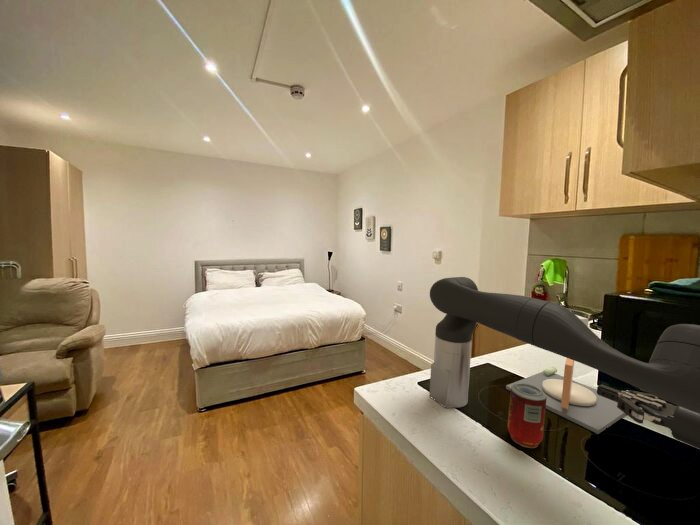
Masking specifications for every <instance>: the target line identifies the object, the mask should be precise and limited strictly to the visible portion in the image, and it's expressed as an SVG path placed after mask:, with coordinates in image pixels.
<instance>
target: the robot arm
mask: <svg viewBox="0 0 700 525" xmlns="http://www.w3.org/2000/svg"><path fill="white" fill-rule="evenodd" d="M429 297H430V298H429V299H430V301H431V303H432V304H433V306H434V307H435V309H437V310H438V311H440V312H441V313H444V314H445V316H444V317H443V318H442V320H440V321H439V322H438V323H437V324H436V326H435V335H434V354H433V363H431V364H430V377H429V378H430V379H429V393H428V394H429V396H430V397H429V398H431V397H432V398H433V399H432V398H431V399H432V400H434V399H435V400H436V401H435V400H434V401H435V402H437V401H438V402H439V403H438V402H437V403H438V404H440V405H441V404H442V405H441V406H443V407H444V406H445V407H448V408H462V407H463V408H464V407H465V406H466V405H468V401H469V386H470V373H471V357H472V356H471V354H472V342H473V335H474V334H473V333H474V331H475V330H476V327H477V324H479V325H483V326H485V327H487V328H489V329H492V330H494V331H497V332H500V333H501V334H504V335H507V336H509V337H511V338H514V339H516V340H518V341H521V342H523V343H526V344H529V345H531V346H534V347H536V348H538V349H541V350H544V351H547V352H550V353H553V354H556V355H559V356H560V357H561V356H562V357H563V358H566V359H567V358H569V359H571V360H574V362H578V363H580V364H582V365H584V366H587V367H590V368H592V369H595V370H598V371H599V372H602V373H604V374H606V375H609V376H610V377H612V378H615V379H617V380H619V381H622V382H625V383H626V384H628V385H631V386H633V387H635V388H637V389H640V390H641V391H644V392H640V391H638V390H637V391H636V390H629V389H628V390H627V391H625V390H618V389H615V388H613V387H611V386H607V385H605V384H600V385H597V387H596V389H597V394H598V395H600V396H602V397H605V398H607V399H610V400H613V401H615V402H617V404H618V405H617V408H619V409H620V410H621V411H623V412H624V413H625V414H627V415H626V416H627V417H629V418H630V419H632V420H633V421H635V422H636V423H638V424H640V425H641V424H642V425H643V424H644V421H648V422H649V423H652V424H654V425H656V426H661V427H663V428H668V429H669V430H670V432H671V436H672V437H673V438H674V439H675V440H676V441H679V442H681V443H684V444H685V445H689V446H691V447H693V448H695V449H698V450H700V325H698V324H693V323H690V324H689V323H677V324H674V325H671V326H668V327H667V328H666V329H664V331H663V332H662V334H661V335H660V336H659V338H658V340H657V342H656V344H655V347H654V349H653V350H652V353H651V357H650V358H649V361H648V362H644V361H641V360H638V359H636V358H634V357H631V356H629V355H627V354H624V353H622V352H620V351H619V350H617V349H615V348H614V347H612V346H610V344H608V343H606V342H605V340H602V339H601V338H600V337H599V336H598V335H597V334H596V333H594V332H593V330H591V328H590V327H589V326H588V327H587V326H586V325H585V324H584V323H583V322H582V321H581V320H580V319H579V318H578V317H577V316H576V315H577V314H575V313H574V312H572V311H571V310H570V309H569V308H567V307H566V306H564V305H561V304H558V303H556V302H555V303H554V302H551V301H547V300H543V299H540V298H535V297H531V296H526V295H521V294H519V295H518V294H512V293H510V294H508V293H497V292H489V291H488V292H486V291H481V290H479V289H478V286H477V284H476V283H475V281H474V280H473V279H471V278H469V277H466V276H456V277H455V276H454V277H453V276H452V277H446V278H445V277H444V278H440V279H438V280H437V281H435V282H434V283H433V284H432V285H431V287H430V290H429ZM445 407H444V408H445Z"/></svg>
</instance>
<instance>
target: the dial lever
mask: <svg viewBox="0 0 700 525" xmlns="http://www.w3.org/2000/svg"><path fill="white" fill-rule="evenodd" d="M574 367H575V361H574V360H571V359H569V358H566V360H565V363H564V370H563V372H564V373H563V377H564V380H560V379H547V380H544V381H543V383H542V389H543V390H544V391H545V392H546V393H547V394H548V395H550V396H552V397H553V398H555V399H558V400H560V401H561V407H562V408H565V409H568V406H569V404H573V405H578V406H592V405H594V404H595V403H596V395H595V394H594V393H593V392H592V391H591V390H589V389H587V388H585V387H583V386H581V385H579V384H576V383H573V382H572V380H573V376H574Z"/></svg>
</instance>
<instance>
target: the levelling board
mask: <svg viewBox="0 0 700 525" xmlns="http://www.w3.org/2000/svg"><path fill="white" fill-rule="evenodd" d="M557 372H558V369H557V367H556V366H552V367H549V368H546V369H544V370H542V371H541V372H539V373H536V374H532V375H530V376H528V377H525V378H522V379H520V380H516V381H514V382H512V383H509V384H506V385H505V390H507V391H510V389H511V386H512V385H514V384H521V383H524V384H529V385H533V386H535V387H537V388H539V389H540V390H541V391H542V392H544V393H545V395H546V398H547V399H546V409H545V410H548V411H549V412H552V413H554V414H556V415H558V416H560V417H562V418H564V419H566V420H568V421H571V422H573V424H576V425H579V426H580V427H583V428H585V429H586V430H589V431H591V432H593V433H594V434H596V435H599V434H601V433H602V432H604V431H605V430H606V428H607V429H608V428H609V427H611V426H612V425H614V424H615V423H617V422H618V421H619V420H621V419H623V418H624V417H625V416H628V415H627V414H625V413H624V412H623V411H621V410H620V409H619V408H617V405H618V404H617V402H615V401H613V400H610V399H607V398H605V397H602V396H600V395H598V394H597V388H594V387H592V386H588V385H586V384H583V383H581V382H578V381H576V380H573V379H572V382H573V383H576V384H579V385H581V386H583V387H585V388H587V389H589V390H591V391H592V392H593V393H594V394H595V395H596V403H595V404H594V405H592V406H578V405H573V404H569V406H568V409H565V408H562V407H561V401H560V400H558V399H555V398H553V397H552V396H550V395H548V394H547V393H546V392H545V391H544V390H543V389H542V383H543V381H544V380H547V379H560V380H564V375H560V374H558V373H557Z"/></svg>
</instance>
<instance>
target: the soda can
mask: <svg viewBox="0 0 700 525" xmlns="http://www.w3.org/2000/svg"><path fill="white" fill-rule="evenodd" d="M546 399H547V398H546V395H545V393H544V392H542V391H541V390H540V389H539V388H537V387H535V386H533V385H529V384H524V383H521V384H514V385H512V386H511V389H510V392H509V404H508V413H507V414H508V415H507V417H508V418H507V431H508V433H509V434H510V435H509V436H510V439H511V440H512V441H513V442H514V443H516V444H518V445H520V446H521V447H524V448H529V449H536V448H537V447H538V446H539V445H540V443H541V442H542V441H543V439H544V430H545V429H544V428H545V417H546V410H547V409H546Z"/></svg>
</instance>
